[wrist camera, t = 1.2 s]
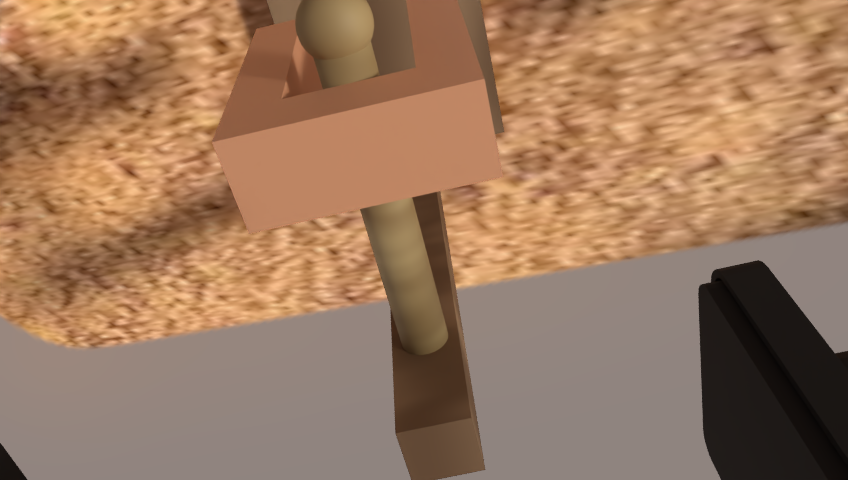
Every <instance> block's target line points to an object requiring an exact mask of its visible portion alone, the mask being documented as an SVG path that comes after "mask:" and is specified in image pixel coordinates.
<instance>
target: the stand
mask: <svg viewBox="0 0 848 480" xmlns="http://www.w3.org/2000/svg"><path fill="white" fill-rule="evenodd" d="M457 1H458V4H459V7H460V9H461V12H462V15H463V18H464V21H465V24H466V27H467V30H468V33H469V36H470V38H471V41H472V44H473V47H474V50H475V53H476V56H477V59H478V62H479V64H480V67H481V70H482V73H483V76H484V79H485V84H486V90H487V95H488V100H489V105H490V111H491V116H492V121H493V126H494V132H495V134H498V133H502V132H504V128H503V123H502V117H501V112H500V106H499V101H498V95H497V90H496V84H495V79H494V73H493V68H492V62H491V57H490V51H489V46H488V40H487V35H486V30H485V24H484V19H483V13H482V8H481V2H480V0H457ZM267 3H268V6H269V9H270V12H271V16H272V19H273V22H274V24H278V23H282V22H286V21H290V20H295V27H296V33H297V36H298V39H299V41H300V43H301V45H302V46H303V48H304V49H305V50H306V51H307V52H308V53H309V54H310V55H311V56H313V58H314V62H315V65H316V68H317V71H318V75H319V78H320V81H321V84H322V88H323V89H327V88H331V87H335V86H340V85H344V84H348V83H353V82H357V81H361V80H365V79H370V78H374V77H378V76H382V75H387V74H391V73H395V72H399V71H404V70H408V69H412V68H416V65H415V58H414V51H413V45H412V38H411V31H410V24H409V17H408V10H407V4H406V0H267ZM360 211H361V214H362V217H363V220H364V223H365V227H366V230H367V233H368V236H369V240H370V243H371V246H372V249H373V253H374V256H375V259H376V262H377V266H378V269H379V272H380V275H381V279H382V282H383V285H384V288H385V291H386V295H387V298H388V301H389V304H390V308H391V332H392V356H393V382H394V406H395V430H396V436H397V439H398V442H399V445H400V447H401V451H402V454H403V457H404V460H405V462H406V465H407V468H408V471H409V474H410V477H411V480H437V479H442V478H447V477H451V476H457V475H462V474H467V473H472V472H476V471H481V470H485V465H484V459H483V453H482V447H481V441H480V435H479V428H478V422H477V416H476V410H475V404H474V397H473V392H472V385H471V379H470V373H469V367H468V360H467V354H466V349H465V342H464V336H463V329H462V323H461V317H460V311H459V305H458V299H457V292H456V286H455V280H454V274H453V268H452V261H451V255H450V249H449V243H448V237H447V230H446V224H445V218H444V212H443V206H442V200H441V193H440V191H438V192H434V193H429V194H425V195H420V196H416V197H411V198H407V199H402V200H398V201H394V202H389V203H385V204H380V205H376V206H371V207H367V208H362V209H360Z"/></svg>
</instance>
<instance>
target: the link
mask: <svg viewBox="0 0 848 480" xmlns="http://www.w3.org/2000/svg"><path fill="white" fill-rule="evenodd" d="M406 4H407V10H408V17H409V24H410V31H411V38H412V45H413V51H414V58H415V65H416V68H412V69H408V70H404V71H399V72H395V73H391V74H387V75H382V76H378V77H374V78H370V79H365V80H361V81H357V82H353V83H348V84H344V85H340V86H335V87H331V88H327V89H323V88H322V84H321V81H320V78H319V75H318V71H317V68H316V65H315V62H314V58H313V56H311V55H310V54H309V53H308V52H307V51H306V50H305V49H304V48H303V46H302V45H301V43H300V41H299V39H298V36H297V33H296V27H295V20H290V21H286V22H282V23H278V24H274V25H270V26H266V27H261V28H257V29H256V31H255V34H254V36H253V39H252V41H251V44H250V46H249V49H248V51H247V54H246V57H245V59H244V62H243V64H242V67H241V69H240V72H239V74H238V77H237V80H236V82H235V85H234V87H233V90H232V92H231V95H230V97H229V100H228V102H227V105H226V108H225V110H224V113H223V115H222V118H221V120H220V123H219V125H218V128H217V131H216V133H215V136H214V138H213V141H212V144H213V146H214V149H215V151H216V154H217V156H218V158H219V161H220V163H221V166H222V168H223V171H224V173H225V176H226V178H227V181H228V183H229V186H230V188H231V190H232V193H233V195H234V198H235V200H236V203H237V205H238V208H239V210H240V213H241V215H242V218H243V220H244V222H245V225H246V227H247V230H248V232H249V234H251V233H255V232H260V231H264V230H268V229H273V228H277V227H282V226H286V225H291V224H295V223H300V222H304V221H309V220H313V219H318V218H322V217H327V216H331V215H335V214H340V213H344V212H349V211H353V210H358V209H362V208H367V207H371V206H376V205H380V204H385V203H389V202H394V201H398V200H402V199H407V198H411V197H416V196H420V195H425V194H429V193H434V192H438V191H443V190H447V189H452V188H456V187H460V186H465V185H469V184H474V183H478V182H483V181H487V180H492V179H496V178H501V177H503V174H502V169H501V163H500V158H499V153H498V148H497V142H496V137H495V132H494V126H493V121H492V116H491V111H490V105H489V100H488V95H487V90H486V84H485V79H484V76H483V73H482V70H481V67H480V64H479V62H478V59H477V56H476V53H475V50H474V47H473V44H472V41H471V38H470V36H469V33H468V30H467V27H466V24H465V21H464V18H463V15H462V12H461V9H460V7H459V4H458V1H457V0H406Z"/></svg>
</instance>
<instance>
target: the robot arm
mask: <svg viewBox="0 0 848 480" xmlns="http://www.w3.org/2000/svg"><path fill="white" fill-rule="evenodd" d="M698 294H699V324H700V351H701V378H702V408H703V431H704V438H705V442H706V446H707V449H708V452H709V455H710V457H711V460H712V462H713V464H714V466H715V468H716V470H717V472H718V474H719V476H720V478H721V480H848V351H845V352H840V353H834V352H833V350H832V349H831V348H830V347H829V345H828V344H827V343H826V341H825V340H824V339H823V338H822V336H821V335H820V334H819V333H818V331H817V330H816V329H815V327H814V326H813V325H812V323H811V322H810V321H809V320H808V318H807V317H806V316H805V315H804V313H803V312H802V311H801V309H800V308H799V307H798V305H797V304H796V303H795V302H794V300H793V299H792V298H791V297H790V295H789V294H788V293H787V291H786V290H785V289H784V287H783V286H782V285H781V284H780V282H779V281H778V280H777V278H776V277H775V276H774V274H773V273H772V272H771V271H770V269H769V268H768V267H767V266H766V265H765V264H764V263H763V262H761V261H759V260H758V261H753V262H749V263H744V264H740V265H735V266H730V267H726V268H721V269H716V270H714V271H713V273H712V276H711V283H706V284H702V285H700V287H699V293H698ZM0 480H27V479H26V477H25V476H24V475H23V473H22V472H21V470H20V469H19V468H18V466H17V465H16V464H15V462H14V461H13V460H12V458H11V457H10V455H9V454H8V453H7V451H6V450H5V449H4V447H3V446H2V445H1V443H0Z"/></svg>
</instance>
